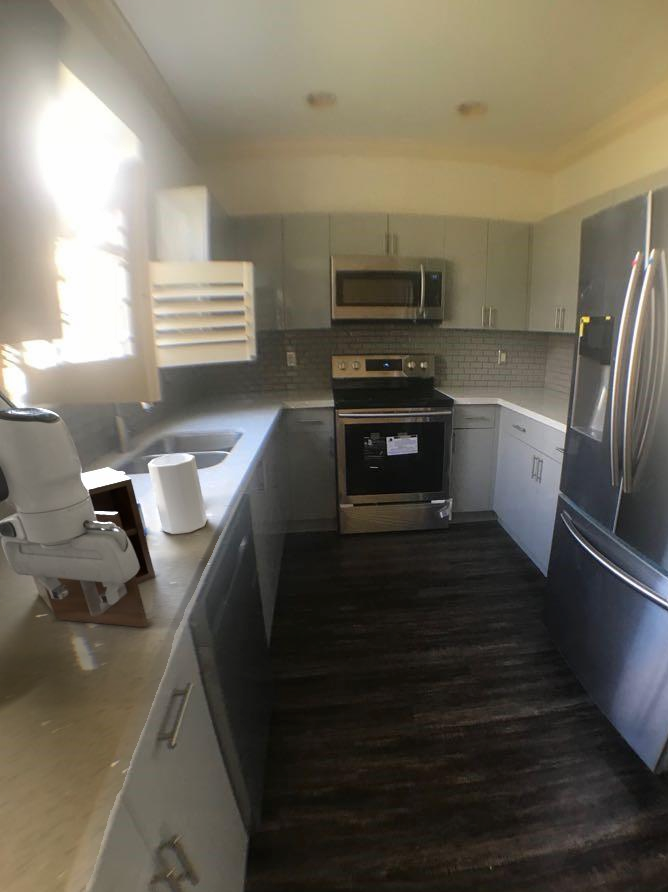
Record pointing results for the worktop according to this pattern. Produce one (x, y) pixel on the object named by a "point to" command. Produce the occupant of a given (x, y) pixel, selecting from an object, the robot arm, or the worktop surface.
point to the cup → (177, 493)
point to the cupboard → (113, 496)
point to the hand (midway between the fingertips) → (85, 599)
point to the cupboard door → (87, 597)
